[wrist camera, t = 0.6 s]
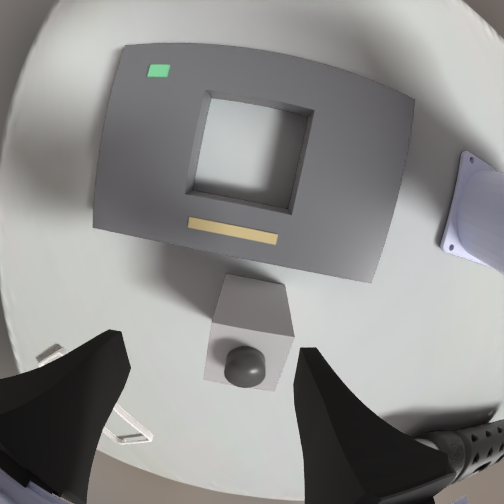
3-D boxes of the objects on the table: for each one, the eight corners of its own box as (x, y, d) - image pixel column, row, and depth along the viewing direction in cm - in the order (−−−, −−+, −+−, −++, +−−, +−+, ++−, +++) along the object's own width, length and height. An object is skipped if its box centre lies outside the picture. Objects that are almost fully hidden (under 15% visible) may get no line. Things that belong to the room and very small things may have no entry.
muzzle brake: (472, 439, 29) (490, 472, 19) (377, 455, 26) (394, 511, 17) (503, 405, 26) (525, 438, 16) (421, 414, 24) (449, 475, 14)
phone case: (41, 359, 23) (121, 437, 27) (35, 365, 22) (118, 445, 26) (66, 343, 22) (156, 433, 26) (59, 351, 20) (154, 441, 24)
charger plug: (284, 285, 18) (296, 349, 12) (271, 332, 19) (274, 404, 13) (226, 273, 18) (208, 334, 11) (217, 322, 19) (200, 392, 13)
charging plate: (400, 104, 14) (416, 98, 12) (360, 271, 18) (372, 284, 16) (137, 54, 13) (123, 44, 11) (107, 220, 17) (91, 228, 15)
